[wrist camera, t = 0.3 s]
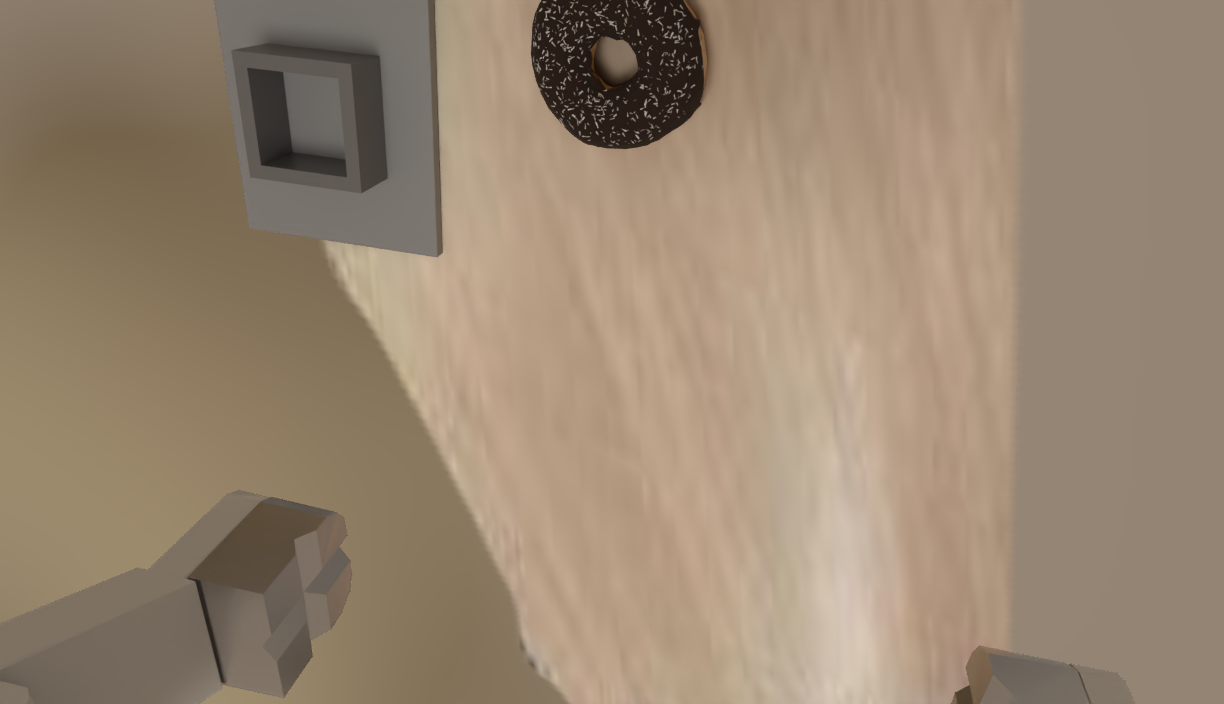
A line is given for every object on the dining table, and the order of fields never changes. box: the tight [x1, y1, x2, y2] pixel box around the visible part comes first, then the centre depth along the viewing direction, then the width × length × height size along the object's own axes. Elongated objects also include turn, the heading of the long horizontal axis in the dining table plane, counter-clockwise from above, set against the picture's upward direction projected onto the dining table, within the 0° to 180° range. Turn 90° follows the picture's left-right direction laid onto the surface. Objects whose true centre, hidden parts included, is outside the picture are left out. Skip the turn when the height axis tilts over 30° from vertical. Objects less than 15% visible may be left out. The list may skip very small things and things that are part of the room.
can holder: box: [214, 0, 442, 257], centre depth 56 cm, size 20×16×5 cm
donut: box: [531, 0, 707, 149], centre depth 50 cm, size 11×12×4 cm
